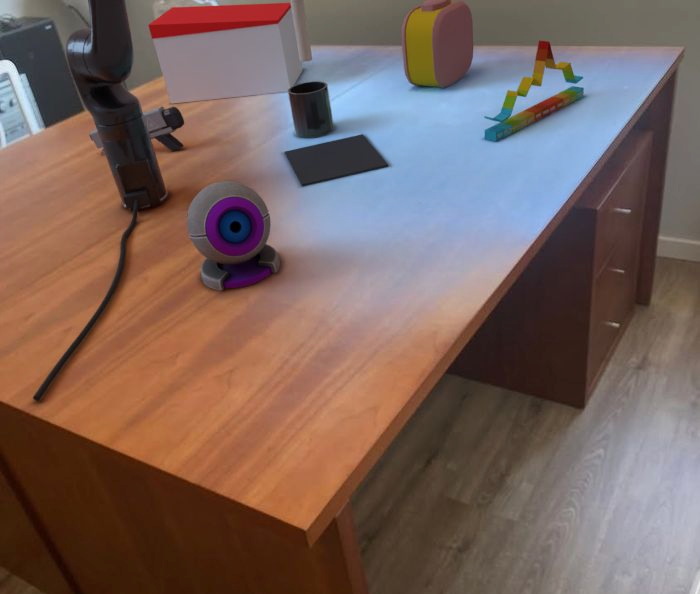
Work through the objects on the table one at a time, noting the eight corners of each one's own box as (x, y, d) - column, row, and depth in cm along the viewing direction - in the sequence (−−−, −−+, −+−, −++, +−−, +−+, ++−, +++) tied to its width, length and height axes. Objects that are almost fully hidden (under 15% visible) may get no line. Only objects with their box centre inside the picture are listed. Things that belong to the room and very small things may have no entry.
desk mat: (388, 166, 146) (388, 164, 146) (302, 186, 144) (301, 184, 144) (362, 135, 162) (362, 134, 162) (284, 153, 160) (284, 151, 160)
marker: (314, 60, 153) (299, -41, 142) (300, 62, 153) (284, -38, 142) (311, 57, 155) (296, -42, 144) (298, 59, 155) (281, -40, 144)
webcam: (213, 299, 113) (187, 211, 104) (194, 265, 123) (169, 183, 114) (290, 273, 116) (271, 186, 107) (265, 242, 126) (247, 160, 117)
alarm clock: (440, 69, 195) (435, -10, 184) (476, 71, 189) (474, -10, 178) (403, 91, 184) (396, 9, 172) (441, 94, 178) (436, 9, 166)
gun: (192, 145, 168) (172, 104, 163) (108, 172, 178) (86, 134, 173) (197, 141, 170) (177, 100, 165) (113, 168, 180) (92, 130, 175)
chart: (496, 141, 149) (495, 66, 140) (484, 138, 151) (482, 64, 142) (584, 96, 163) (588, 25, 154) (572, 94, 165) (575, 24, 156)
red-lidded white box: (190, 81, 219) (171, 7, 207) (302, 69, 214) (290, -8, 201) (169, 104, 203) (147, 25, 191) (290, 91, 197) (275, 9, 185)
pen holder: (337, 132, 166) (331, 88, 160) (299, 141, 165) (291, 97, 159) (329, 121, 173) (322, 78, 167) (292, 129, 172) (284, 86, 166)
